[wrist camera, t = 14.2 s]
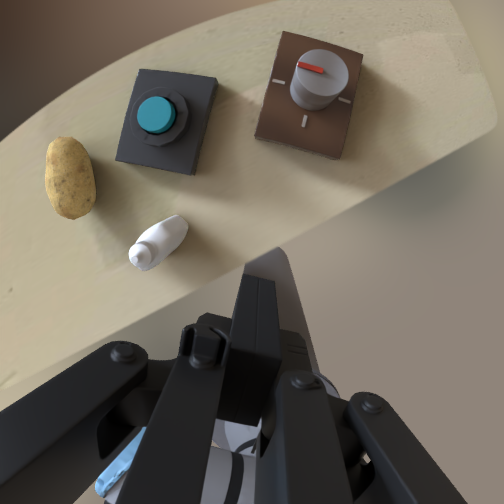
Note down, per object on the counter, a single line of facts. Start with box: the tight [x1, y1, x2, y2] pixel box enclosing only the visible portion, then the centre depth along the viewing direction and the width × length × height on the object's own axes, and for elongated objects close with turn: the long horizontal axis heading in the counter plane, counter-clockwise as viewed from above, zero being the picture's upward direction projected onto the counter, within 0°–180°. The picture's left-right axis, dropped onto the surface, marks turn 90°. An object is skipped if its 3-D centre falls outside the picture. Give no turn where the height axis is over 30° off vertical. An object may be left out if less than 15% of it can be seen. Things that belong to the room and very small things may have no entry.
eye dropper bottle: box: [129, 215, 188, 271], centre depth 33 cm, size 4×6×12 cm
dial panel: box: [254, 31, 363, 160], centre depth 33 cm, size 14×10×3 cm
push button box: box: [115, 69, 218, 175], centre depth 34 cm, size 12×10×4 cm
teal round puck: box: [137, 97, 176, 133], centre depth 31 cm, size 4×4×2 cm
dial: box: [290, 49, 349, 111], centre depth 28 cm, size 5×5×7 cm
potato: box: [45, 137, 96, 220], centre depth 34 cm, size 7×11×6 cm, turn 12°
